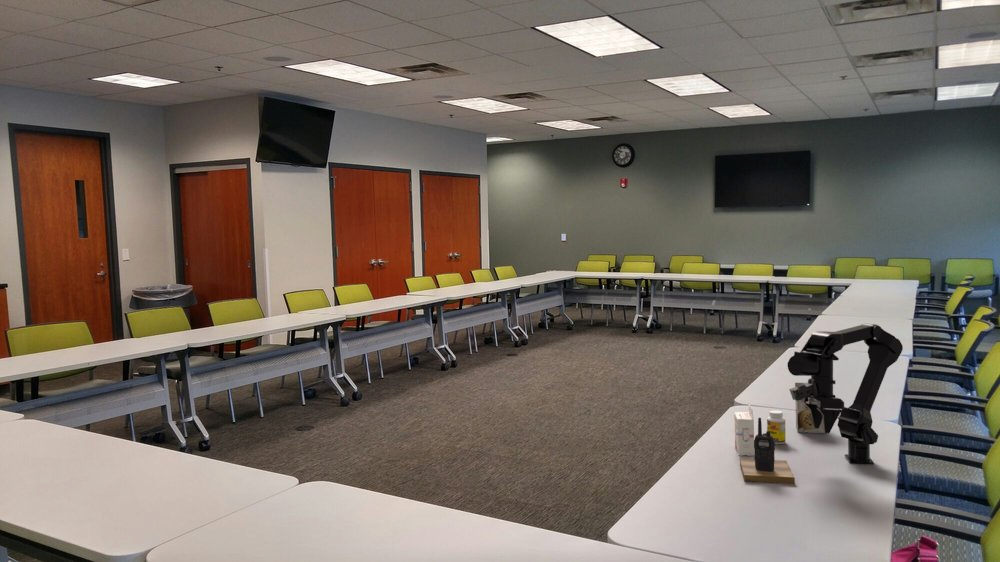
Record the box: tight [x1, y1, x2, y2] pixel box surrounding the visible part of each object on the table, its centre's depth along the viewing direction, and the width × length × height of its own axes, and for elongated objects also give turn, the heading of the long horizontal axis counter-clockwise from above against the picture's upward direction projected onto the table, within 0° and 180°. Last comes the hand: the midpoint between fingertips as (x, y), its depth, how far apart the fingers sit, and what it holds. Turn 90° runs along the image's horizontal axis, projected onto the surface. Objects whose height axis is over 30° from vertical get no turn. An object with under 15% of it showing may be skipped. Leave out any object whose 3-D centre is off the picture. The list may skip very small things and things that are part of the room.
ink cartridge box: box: [733, 403, 755, 457], centre depth 212 cm, size 9×5×15 cm, turn 168°
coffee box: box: [794, 382, 826, 434], centre depth 231 cm, size 9×6×16 cm
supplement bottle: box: [766, 410, 787, 445], centre depth 220 cm, size 6×6×10 cm
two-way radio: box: [754, 417, 776, 471], centre depth 190 cm, size 6×4×15 cm
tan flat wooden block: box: [739, 458, 796, 485], centre depth 192 cm, size 14×13×2 cm
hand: (821, 430), depth 192 cm, fingers open, 9 cm apart
